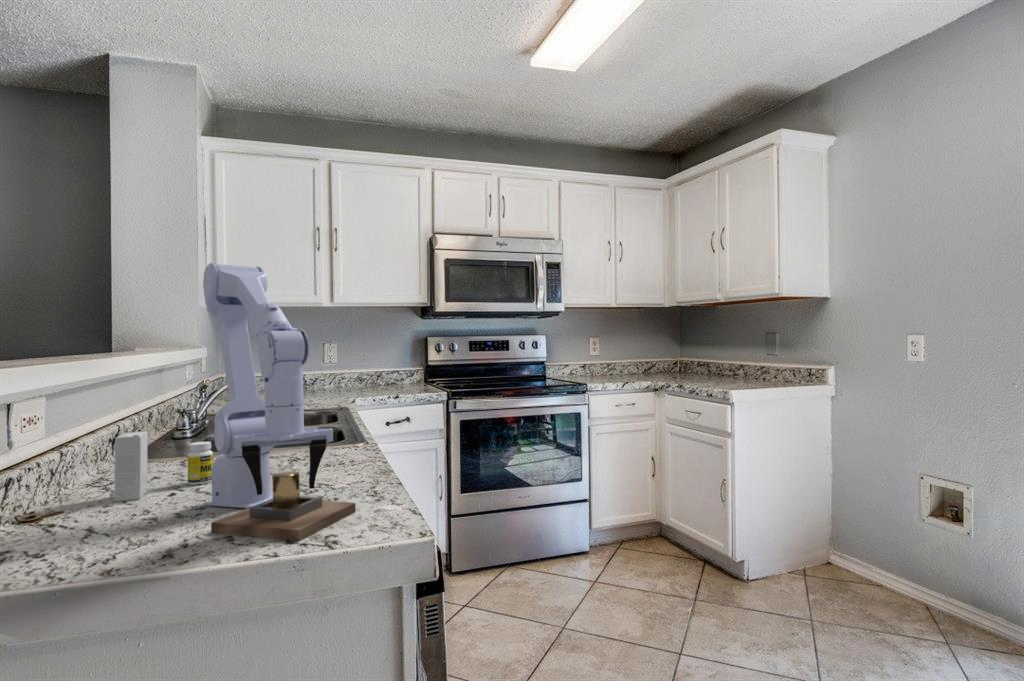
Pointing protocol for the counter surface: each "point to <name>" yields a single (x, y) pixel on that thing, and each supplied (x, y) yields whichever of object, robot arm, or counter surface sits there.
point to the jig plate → (284, 522)
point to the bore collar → (282, 514)
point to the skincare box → (130, 466)
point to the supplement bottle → (200, 463)
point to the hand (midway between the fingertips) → (286, 490)
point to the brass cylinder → (286, 490)
